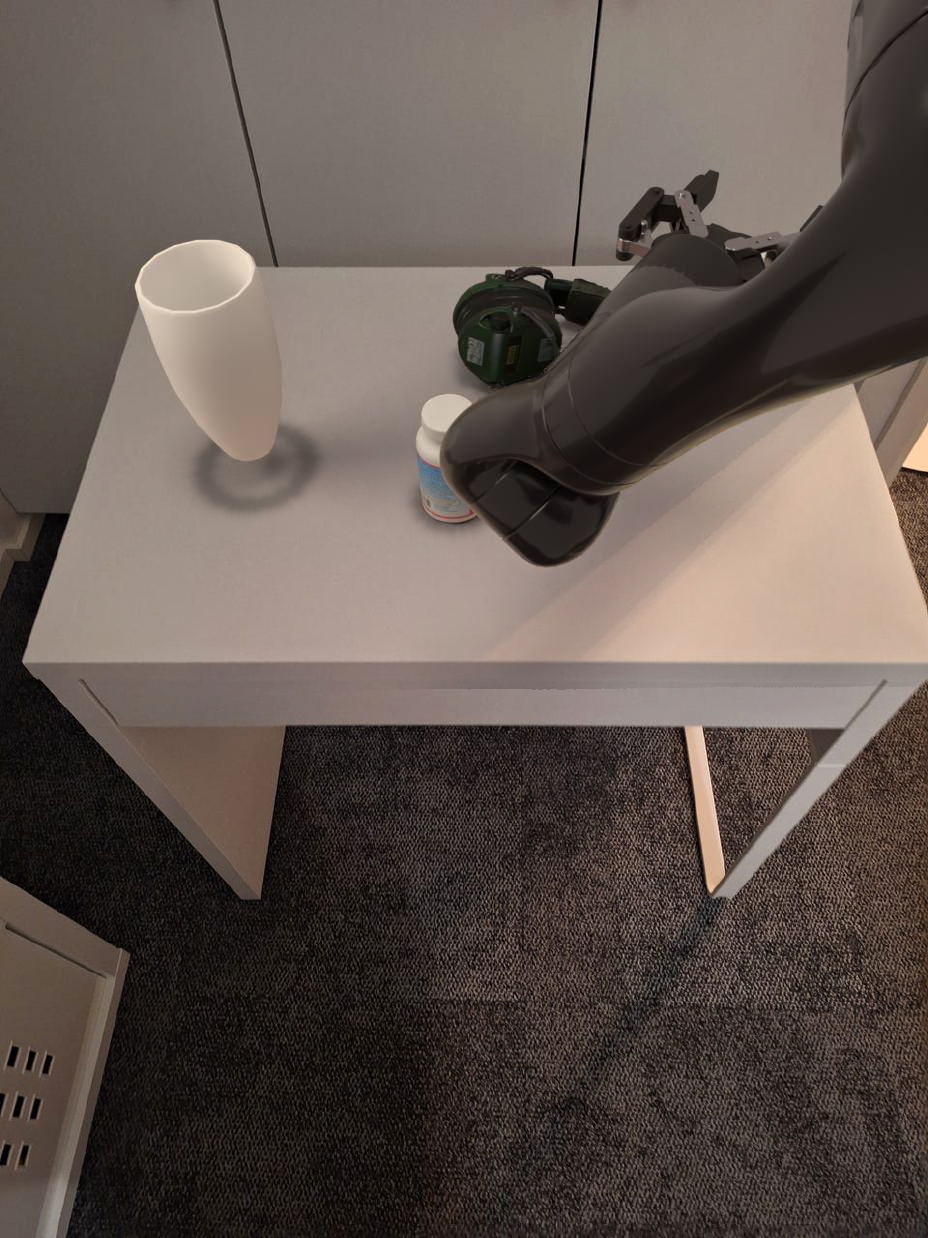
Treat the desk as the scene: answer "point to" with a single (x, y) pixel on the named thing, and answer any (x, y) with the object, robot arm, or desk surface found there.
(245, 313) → the cup
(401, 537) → the desk surface
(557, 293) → the headphones
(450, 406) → the pill bottle
